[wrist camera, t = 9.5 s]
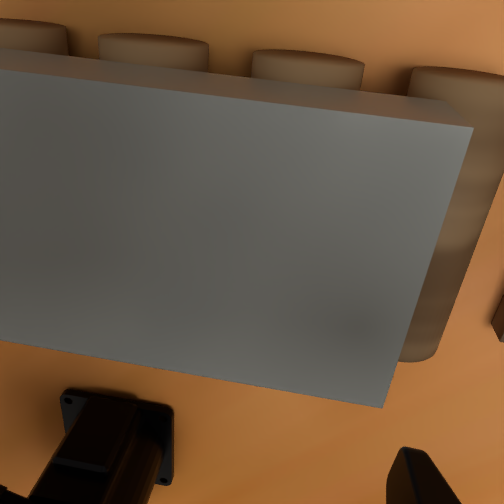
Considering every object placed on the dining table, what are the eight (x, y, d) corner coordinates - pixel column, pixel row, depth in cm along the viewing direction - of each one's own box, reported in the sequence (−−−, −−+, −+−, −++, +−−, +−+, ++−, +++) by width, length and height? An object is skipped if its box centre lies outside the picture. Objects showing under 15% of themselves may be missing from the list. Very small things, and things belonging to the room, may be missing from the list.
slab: (375, 346, 17) (382, 408, 15) (-23, 280, 19) (-80, 326, 16) (445, 101, 13) (474, 127, 10) (-83, 37, 14) (-174, 47, 12)
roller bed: (666, 351, 20) (728, 417, 17) (33, 250, 22) (-15, 291, 19) (836, 111, 15) (968, 142, 12) (-7, 16, 17) (-80, 21, 14)
